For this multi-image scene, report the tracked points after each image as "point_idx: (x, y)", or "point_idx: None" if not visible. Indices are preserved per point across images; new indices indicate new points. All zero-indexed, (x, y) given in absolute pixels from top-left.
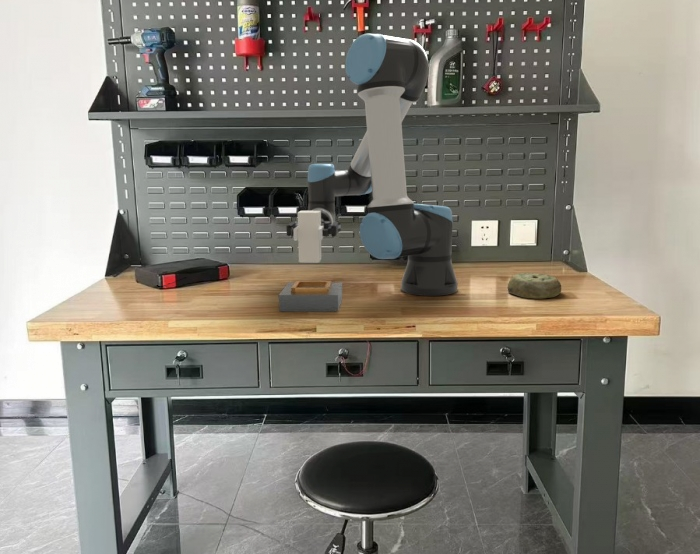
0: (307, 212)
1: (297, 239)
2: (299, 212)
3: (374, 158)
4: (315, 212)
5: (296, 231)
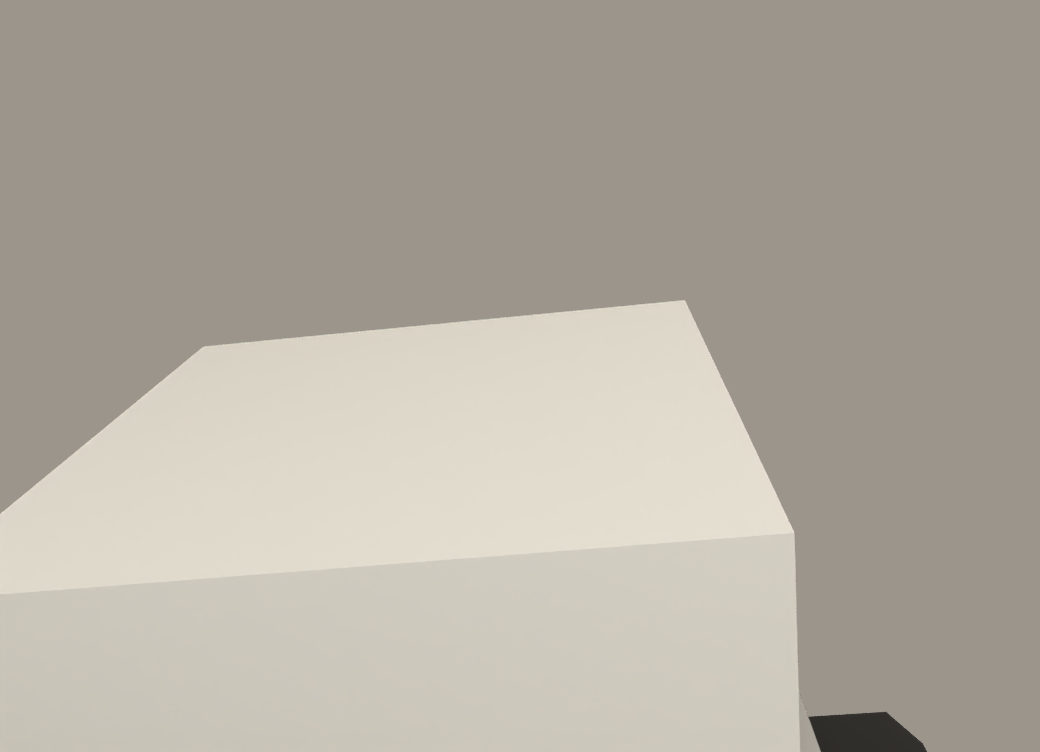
0: (454, 337)
1: None
2: (650, 315)
3: None
4: (262, 355)
5: None
